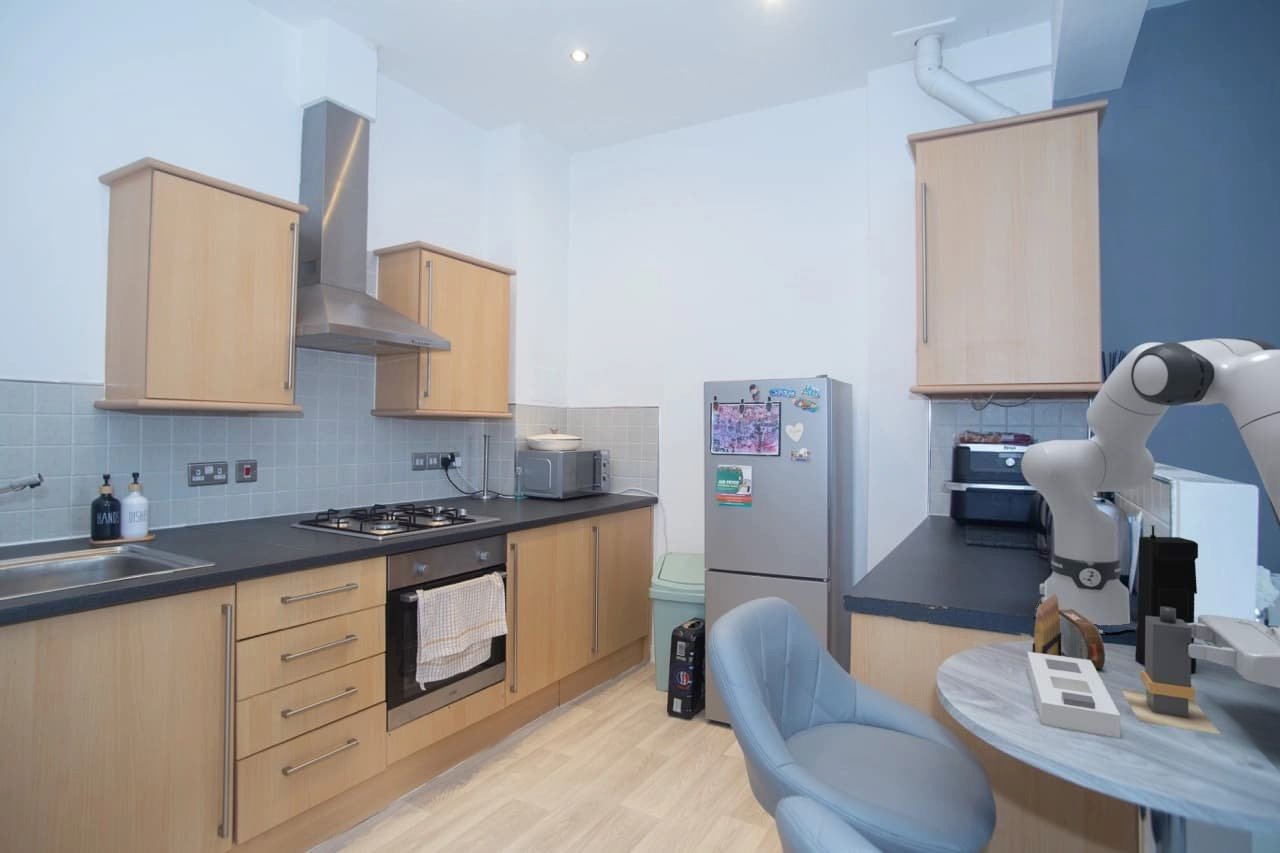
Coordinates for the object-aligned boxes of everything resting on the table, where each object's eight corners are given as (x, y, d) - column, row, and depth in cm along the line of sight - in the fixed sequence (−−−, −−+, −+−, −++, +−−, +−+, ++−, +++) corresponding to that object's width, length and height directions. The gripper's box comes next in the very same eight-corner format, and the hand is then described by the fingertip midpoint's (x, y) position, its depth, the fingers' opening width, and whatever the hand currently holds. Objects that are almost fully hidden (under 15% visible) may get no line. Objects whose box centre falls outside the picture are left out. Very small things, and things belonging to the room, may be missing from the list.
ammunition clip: (1044, 676, 111) (1044, 606, 111) (1031, 673, 113) (1032, 603, 113) (1061, 660, 119) (1062, 594, 119) (1049, 657, 120) (1050, 592, 120)
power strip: (1027, 674, 112) (1027, 646, 112) (1090, 684, 108) (1090, 655, 108) (1041, 730, 92) (1042, 696, 92) (1119, 744, 88) (1120, 709, 88)
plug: (1140, 699, 100) (1141, 601, 100) (1183, 706, 98) (1185, 605, 97) (1149, 713, 95) (1150, 610, 95) (1194, 720, 93) (1196, 615, 93)
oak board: (1120, 695, 104) (1120, 689, 104) (1192, 706, 100) (1192, 699, 100) (1139, 727, 93) (1139, 720, 93) (1221, 741, 89) (1221, 734, 89)
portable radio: (1178, 661, 118) (1180, 522, 118) (1204, 674, 112) (1206, 528, 112) (1132, 659, 119) (1133, 521, 119) (1154, 672, 113) (1156, 527, 113)
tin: (1106, 679, 110) (1107, 629, 110) (1085, 677, 111) (1086, 627, 111) (1067, 647, 125) (1068, 603, 125) (1049, 646, 126) (1049, 603, 126)
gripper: (1273, 610, 99) (1158, 599, 105) (1344, 655, 81) (1200, 638, 87) (1272, 652, 99) (1158, 639, 105) (1343, 706, 81) (1199, 686, 87)
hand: (1177, 639), depth 96 cm, fingers open, 8 cm apart
